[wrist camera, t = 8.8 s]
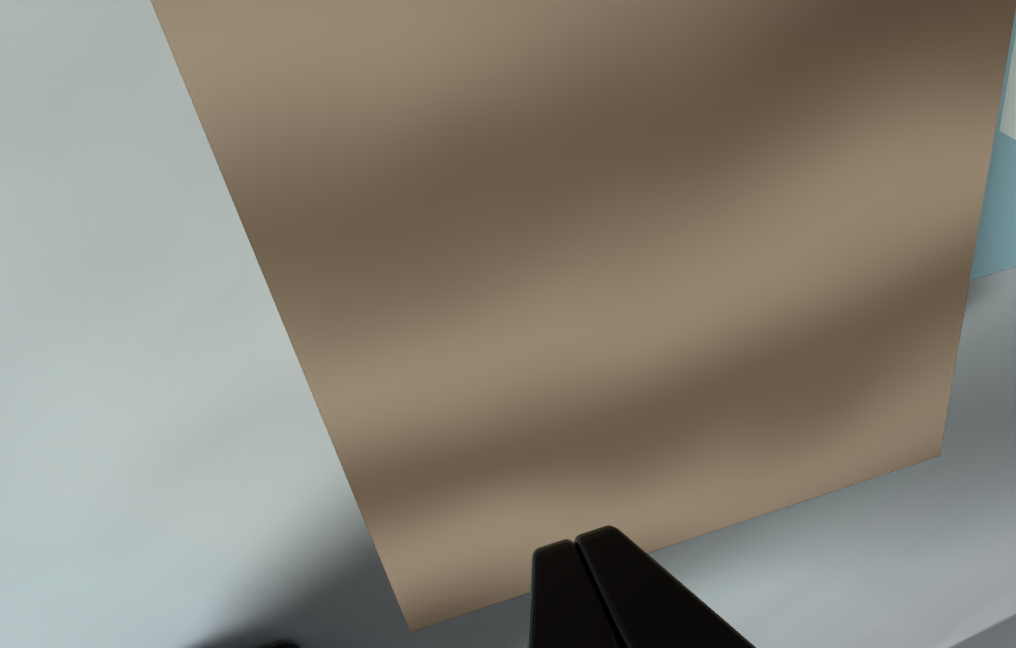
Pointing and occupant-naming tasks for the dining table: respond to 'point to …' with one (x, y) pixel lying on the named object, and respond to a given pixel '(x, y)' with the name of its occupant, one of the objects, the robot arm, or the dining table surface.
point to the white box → (1010, 100)
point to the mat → (998, 200)
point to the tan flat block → (603, 252)
